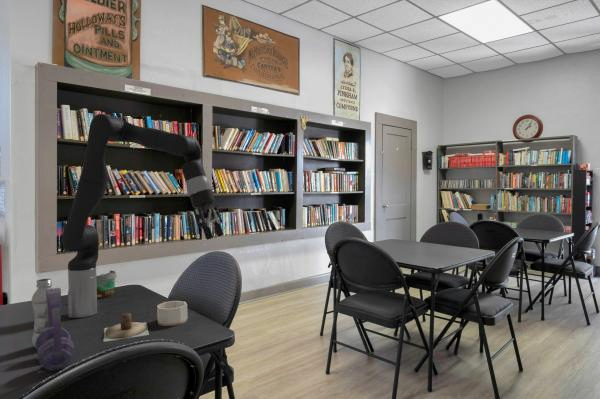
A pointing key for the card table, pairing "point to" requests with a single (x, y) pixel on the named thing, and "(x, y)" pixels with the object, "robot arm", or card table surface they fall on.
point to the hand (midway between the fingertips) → (215, 237)
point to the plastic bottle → (40, 308)
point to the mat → (124, 338)
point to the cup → (172, 313)
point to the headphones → (54, 336)
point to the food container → (106, 284)
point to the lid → (125, 328)
